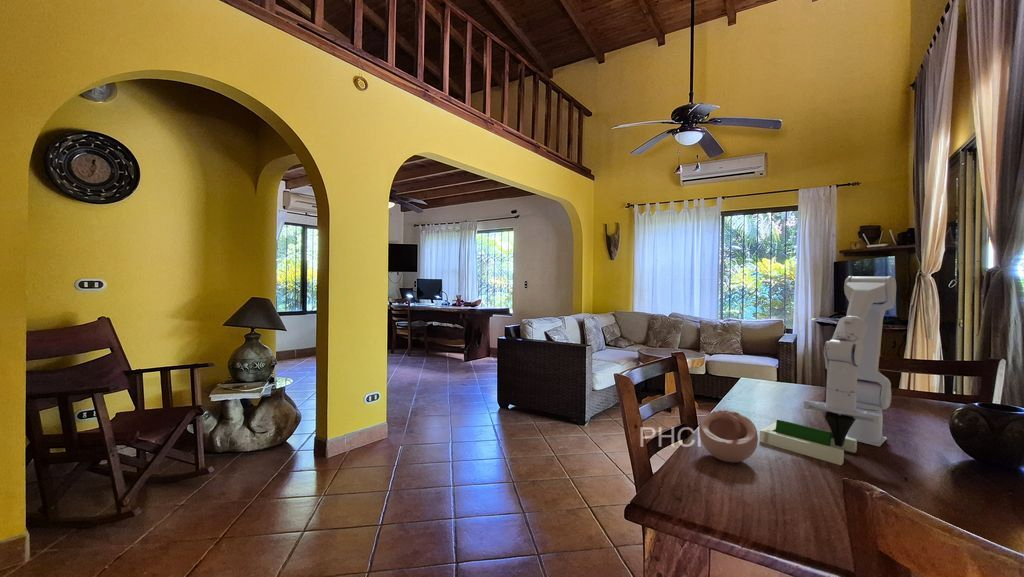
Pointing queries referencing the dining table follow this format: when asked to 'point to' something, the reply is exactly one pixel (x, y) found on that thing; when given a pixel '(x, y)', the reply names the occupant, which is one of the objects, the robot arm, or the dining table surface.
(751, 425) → the pink round bowl
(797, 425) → the dark green block
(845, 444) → the bracket
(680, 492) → the dining table surface
